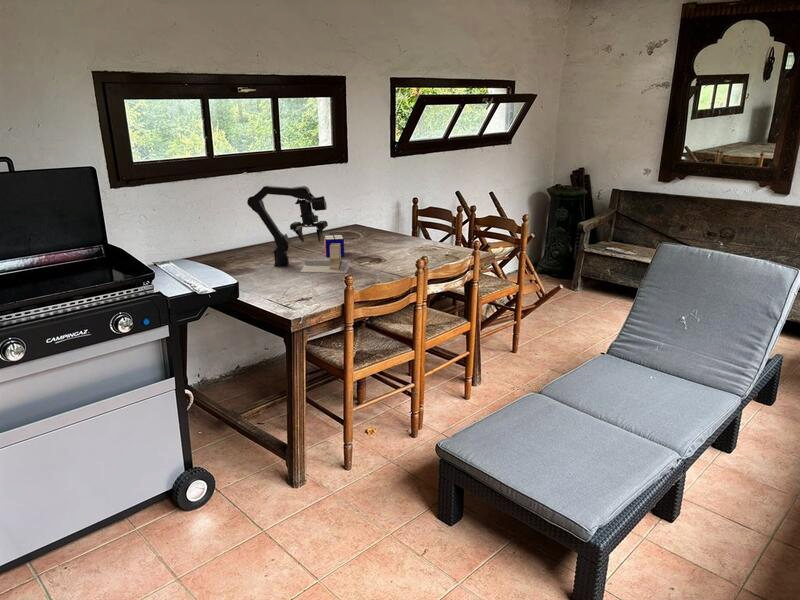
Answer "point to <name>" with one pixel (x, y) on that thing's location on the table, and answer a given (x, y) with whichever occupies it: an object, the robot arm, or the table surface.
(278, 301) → the table surface
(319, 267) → the tray
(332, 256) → the birch block
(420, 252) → the table surface
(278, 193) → the robot arm
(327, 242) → the puzzle cube
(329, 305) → the table surface
